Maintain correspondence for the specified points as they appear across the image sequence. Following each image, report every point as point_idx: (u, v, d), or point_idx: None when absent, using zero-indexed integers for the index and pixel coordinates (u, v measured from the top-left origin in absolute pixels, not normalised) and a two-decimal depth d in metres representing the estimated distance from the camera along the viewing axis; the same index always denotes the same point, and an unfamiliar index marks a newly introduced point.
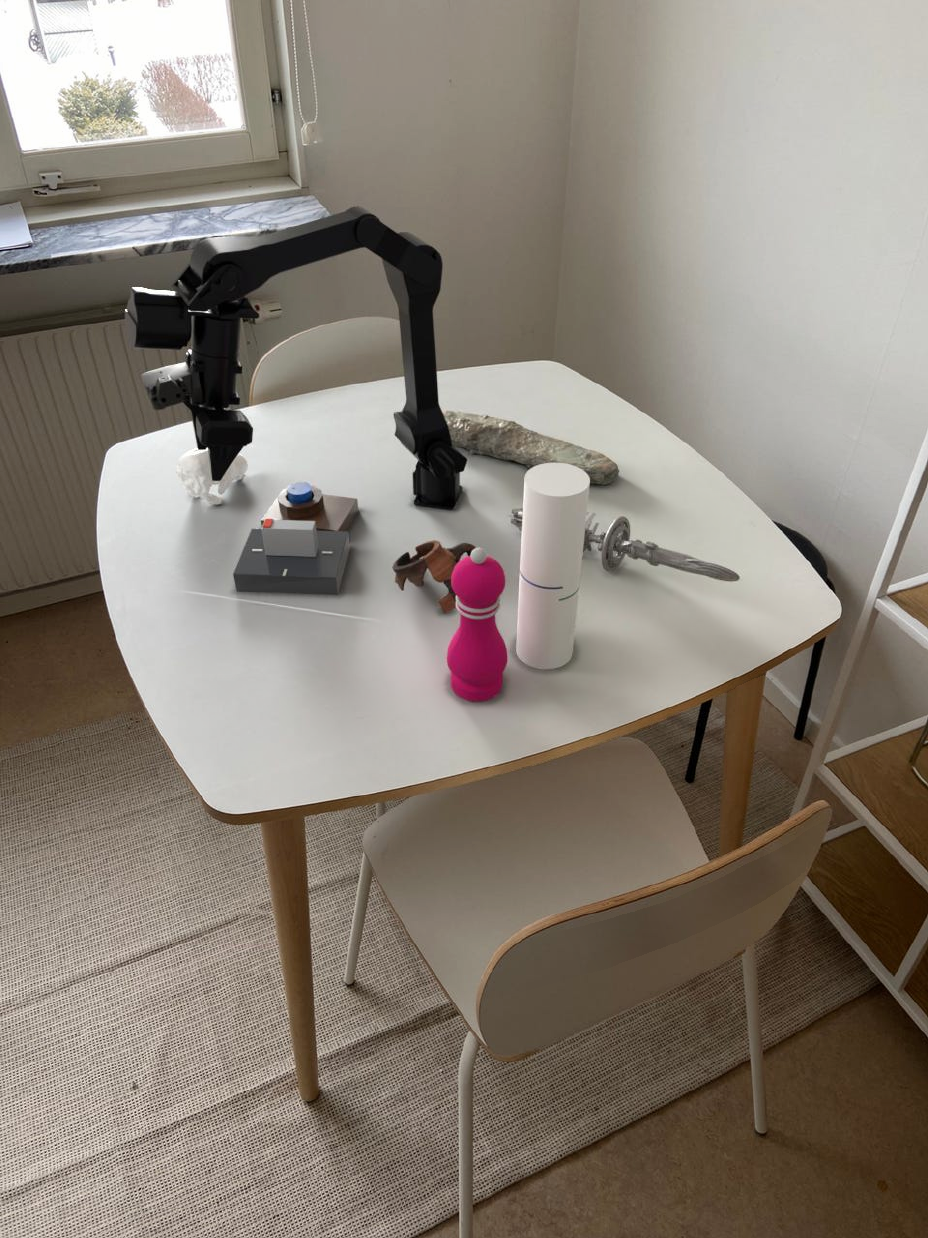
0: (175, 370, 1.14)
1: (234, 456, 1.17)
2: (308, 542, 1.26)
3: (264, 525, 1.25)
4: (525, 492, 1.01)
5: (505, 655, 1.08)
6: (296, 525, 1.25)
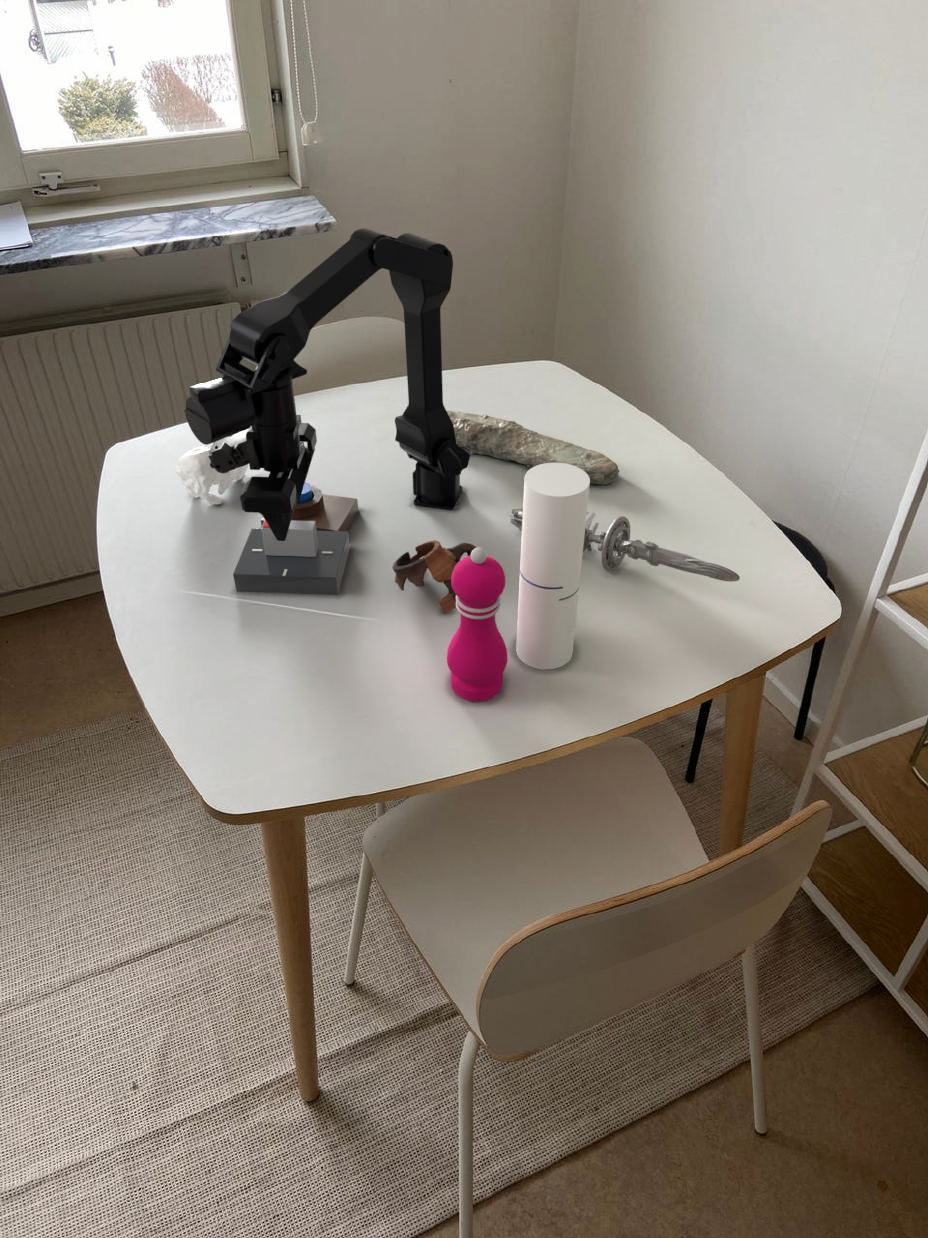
0: (240, 435, 1.17)
1: (288, 520, 1.18)
2: (308, 542, 1.26)
3: (264, 525, 1.25)
4: (525, 492, 1.01)
5: (505, 655, 1.08)
6: (296, 525, 1.25)
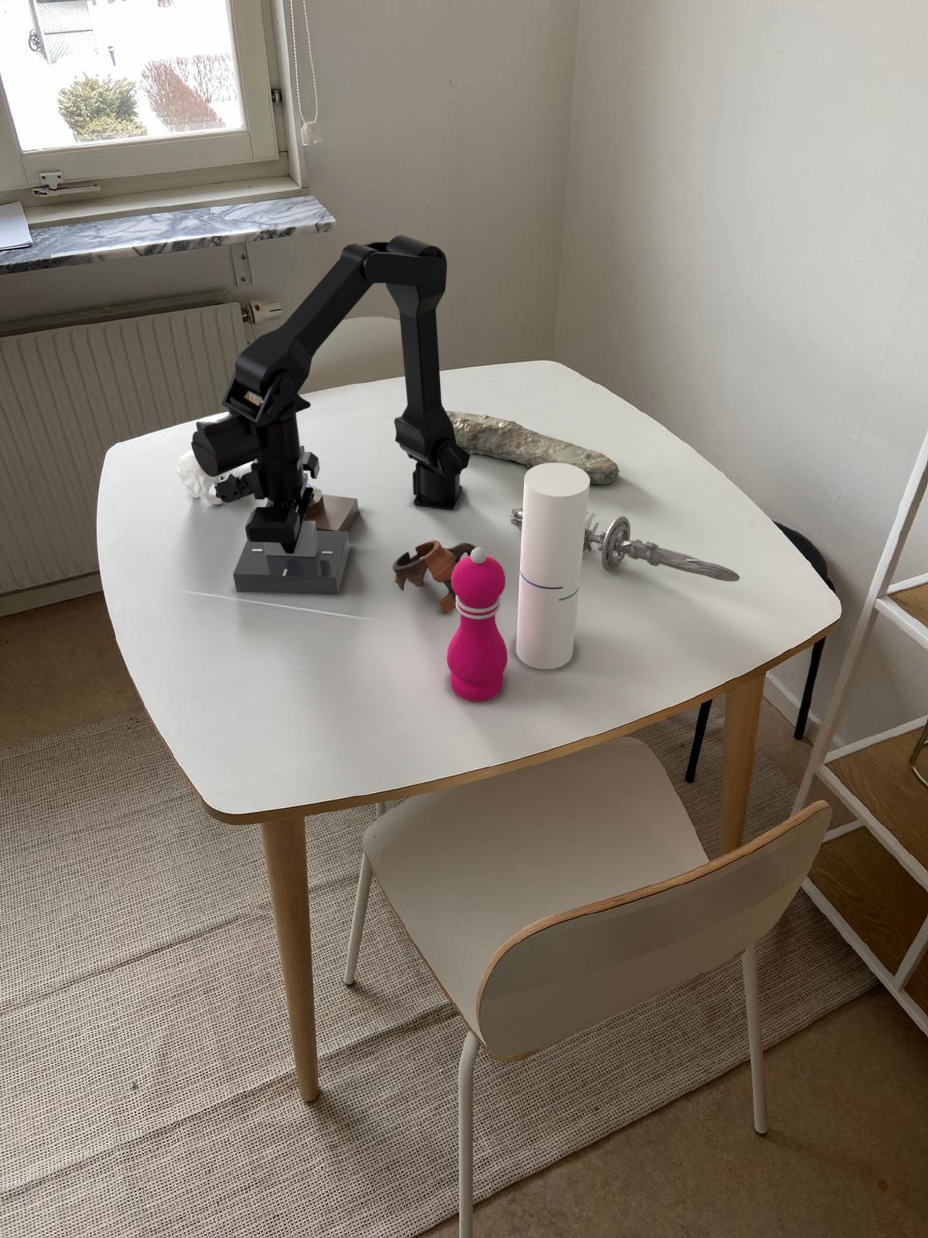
0: (245, 465, 1.20)
1: (297, 534, 1.23)
2: (308, 542, 1.26)
3: None
4: (525, 492, 1.01)
5: (505, 655, 1.08)
6: None
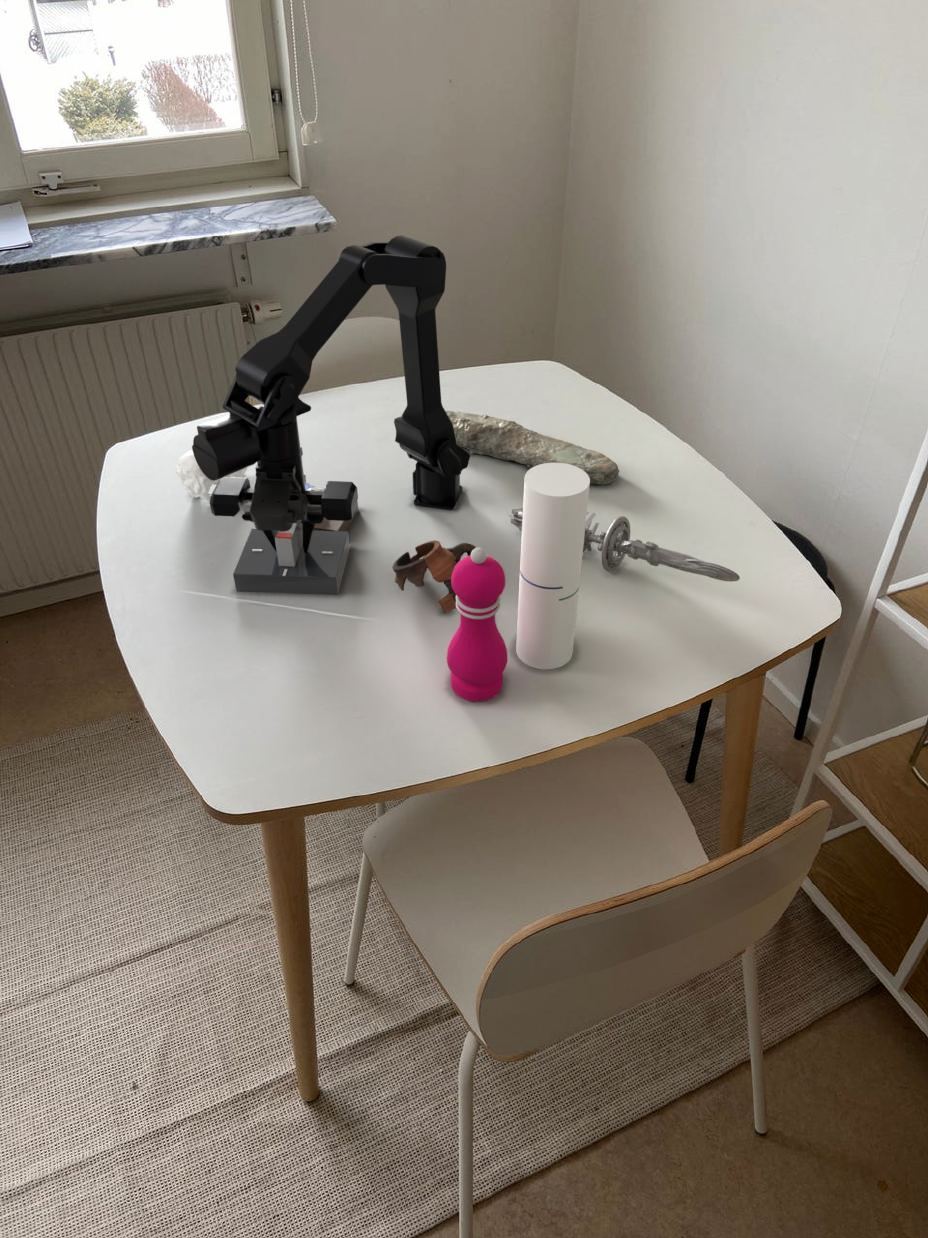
0: (270, 490, 1.16)
1: None
2: (302, 526, 1.29)
3: (288, 536, 1.23)
4: (525, 492, 1.01)
5: (505, 655, 1.08)
6: None
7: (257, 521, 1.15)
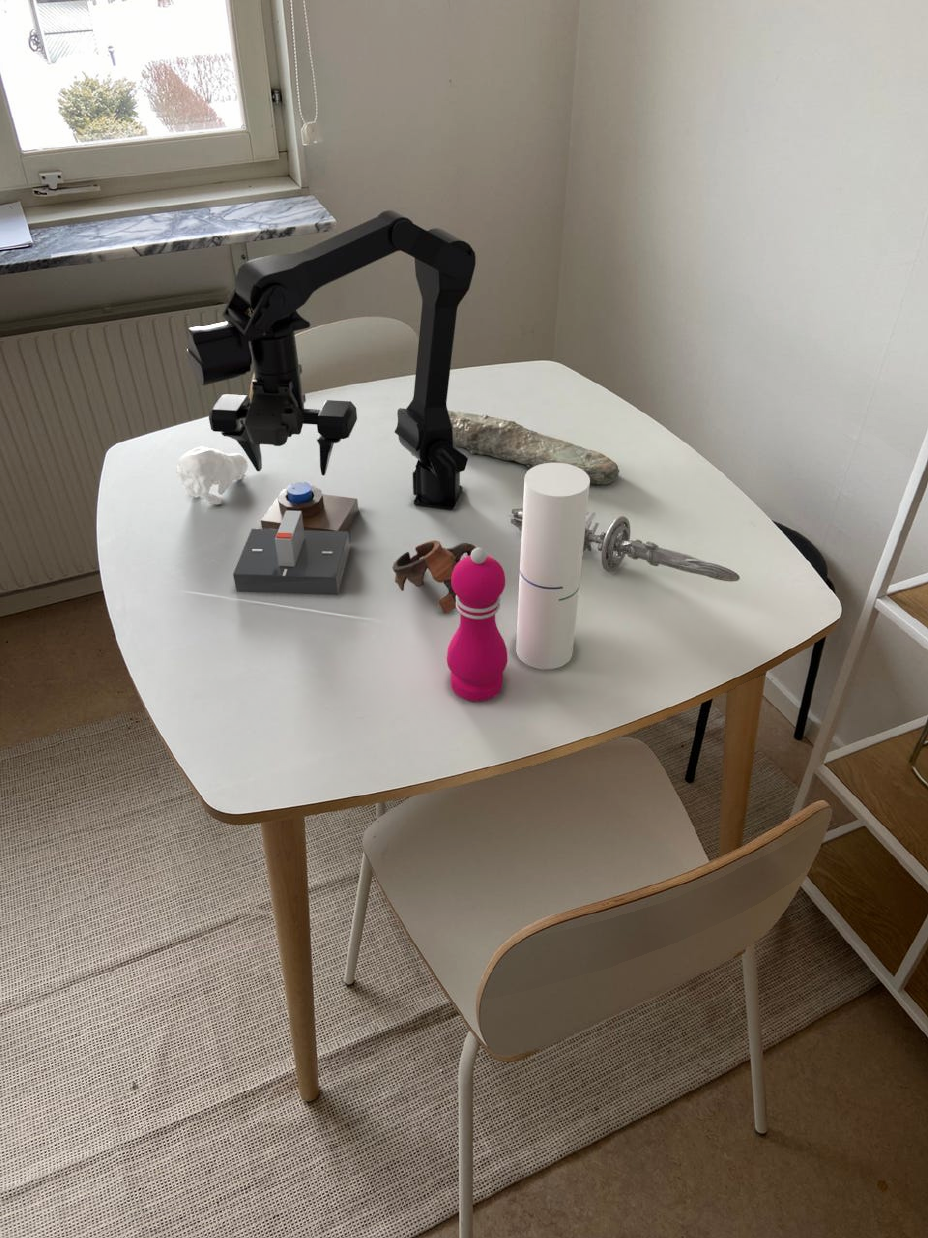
0: (266, 403, 1.17)
1: None
2: (302, 526, 1.29)
3: (288, 536, 1.23)
4: (525, 492, 1.01)
5: (505, 655, 1.08)
6: (290, 520, 1.26)
7: (251, 434, 1.16)
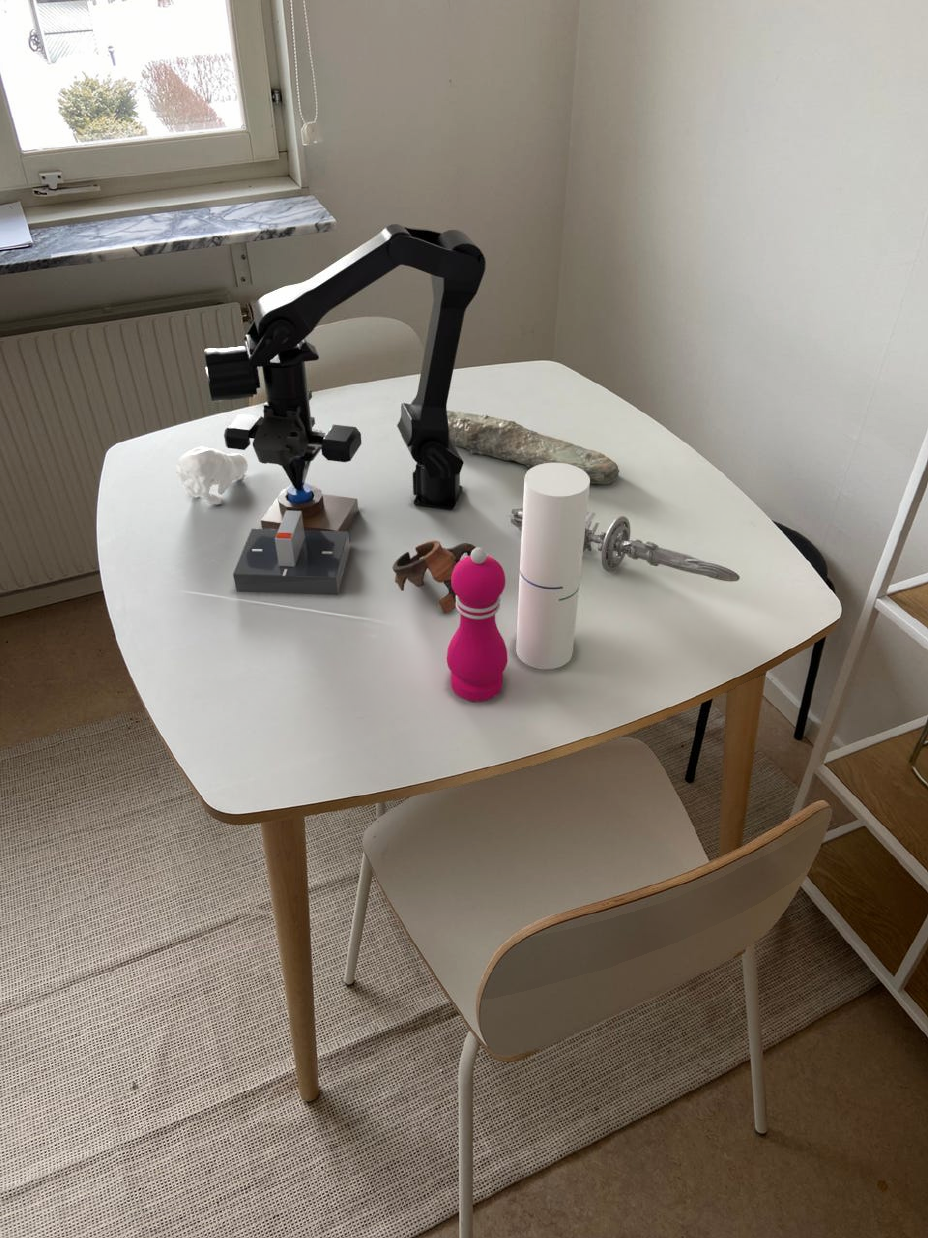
0: (274, 426, 1.25)
1: None
2: (302, 526, 1.29)
3: (288, 536, 1.23)
4: (525, 492, 1.01)
5: (505, 655, 1.08)
6: (290, 520, 1.26)
7: (258, 453, 1.25)
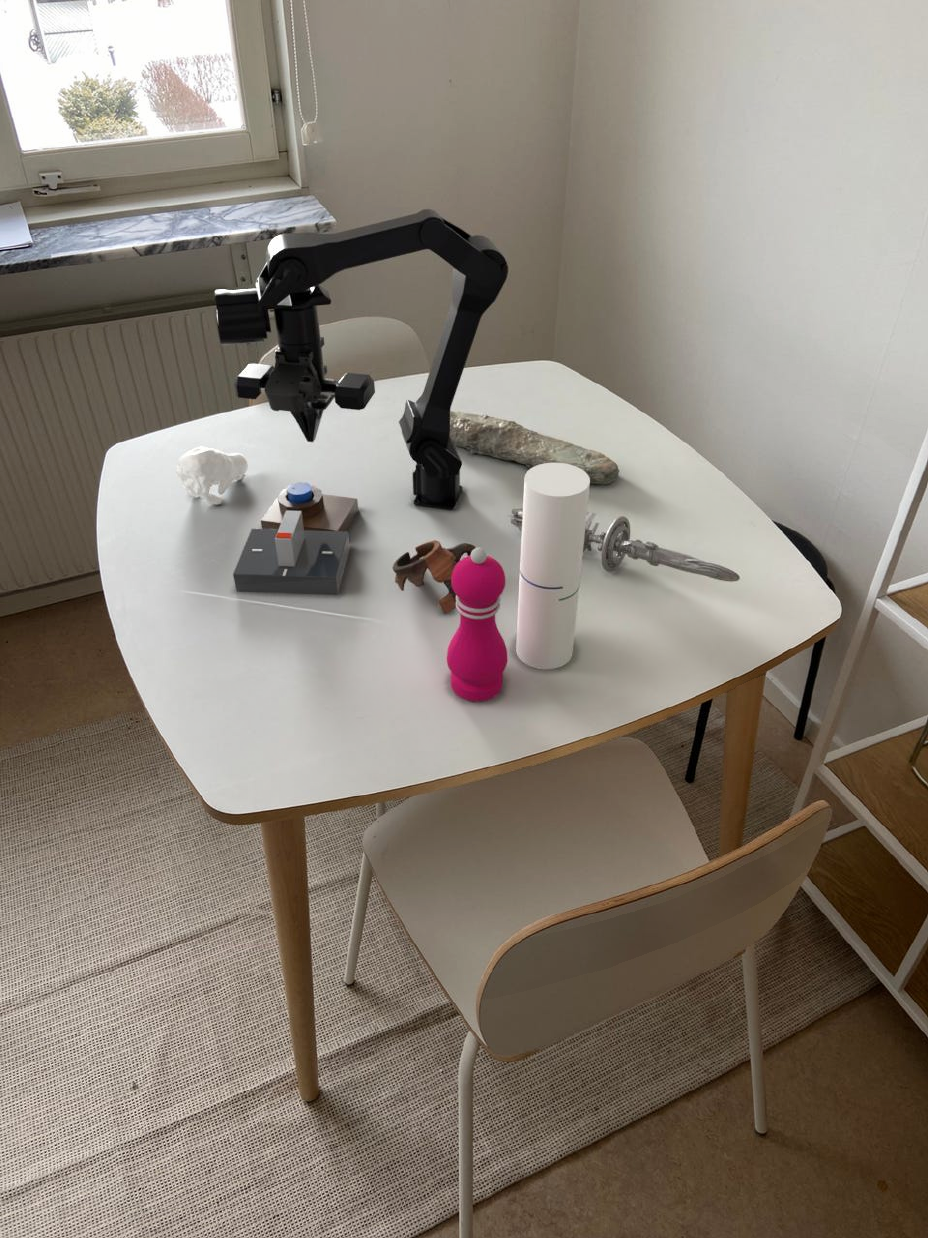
0: (286, 372, 1.22)
1: (323, 410, 1.32)
2: (302, 526, 1.29)
3: (288, 536, 1.23)
4: (525, 492, 1.01)
5: (505, 655, 1.08)
6: (290, 520, 1.26)
7: (271, 400, 1.22)
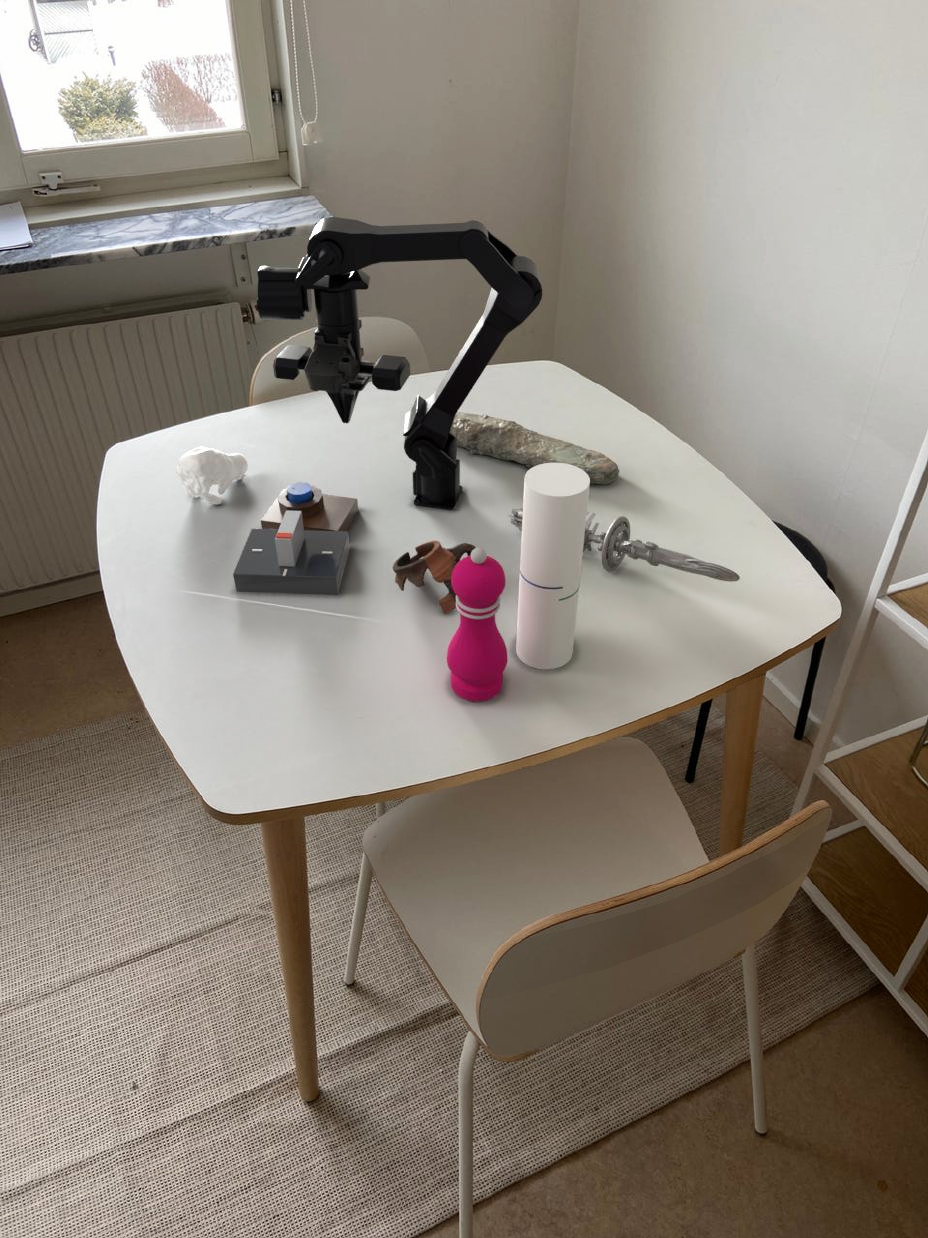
0: (325, 353, 1.25)
1: (358, 392, 1.35)
2: (302, 526, 1.29)
3: (288, 536, 1.23)
4: (525, 492, 1.01)
5: (505, 655, 1.08)
6: (290, 520, 1.26)
7: (310, 380, 1.24)
